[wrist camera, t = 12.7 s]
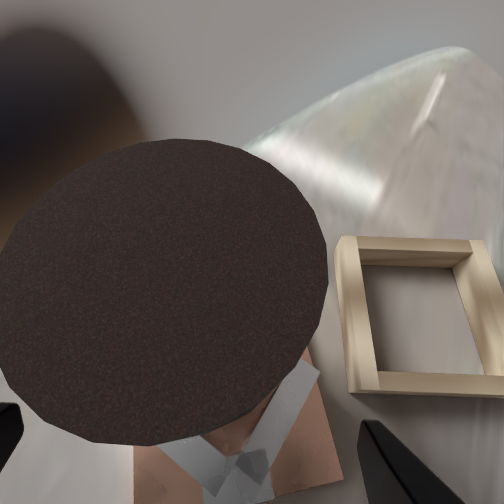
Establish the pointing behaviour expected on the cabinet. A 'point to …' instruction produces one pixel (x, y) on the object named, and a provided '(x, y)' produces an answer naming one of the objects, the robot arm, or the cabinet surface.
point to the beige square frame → (474, 300)
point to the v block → (247, 452)
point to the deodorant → (159, 292)
